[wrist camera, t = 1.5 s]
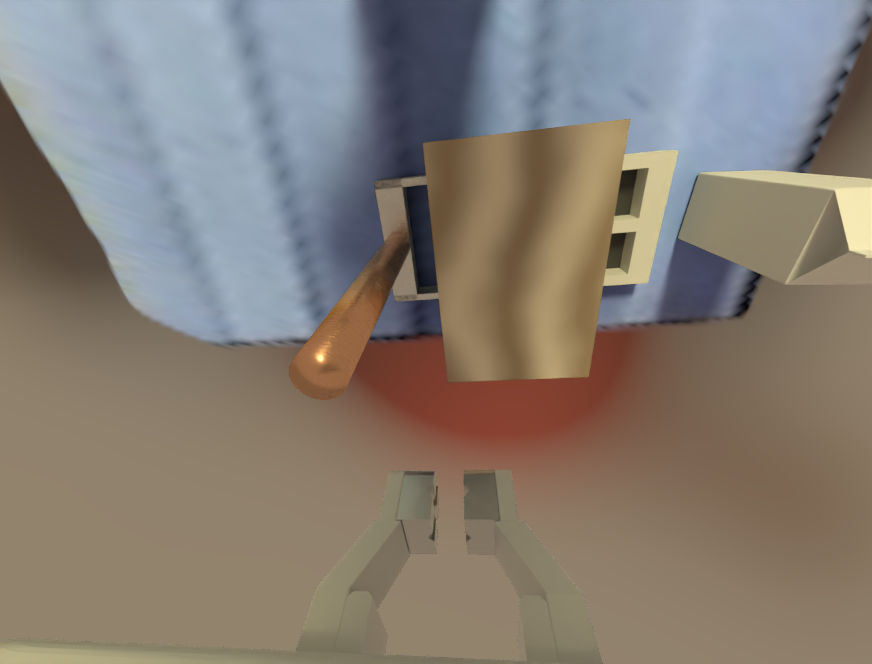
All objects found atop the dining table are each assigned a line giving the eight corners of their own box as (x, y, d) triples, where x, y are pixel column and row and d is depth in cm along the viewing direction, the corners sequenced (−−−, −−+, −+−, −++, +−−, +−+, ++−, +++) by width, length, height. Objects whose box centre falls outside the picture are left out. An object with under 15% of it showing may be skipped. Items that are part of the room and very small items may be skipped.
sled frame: (560, 160, 35) (773, 192, 11) (550, 283, 42) (670, 464, 18) (378, 179, 37) (235, 241, 13) (398, 293, 44) (326, 469, 20)
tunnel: (560, 129, 34) (630, 118, 20) (547, 302, 44) (588, 376, 30) (437, 143, 36) (422, 142, 22) (451, 308, 45) (447, 382, 31)
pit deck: (664, 150, 35) (678, 150, 32) (637, 275, 41) (647, 282, 39) (567, 160, 36) (574, 161, 33) (556, 281, 42) (561, 288, 40)
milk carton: (739, 237, 38) (948, 306, 22) (676, 238, 39) (834, 306, 23) (767, 169, 35) (1041, 192, 19) (697, 172, 35) (903, 196, 19)
